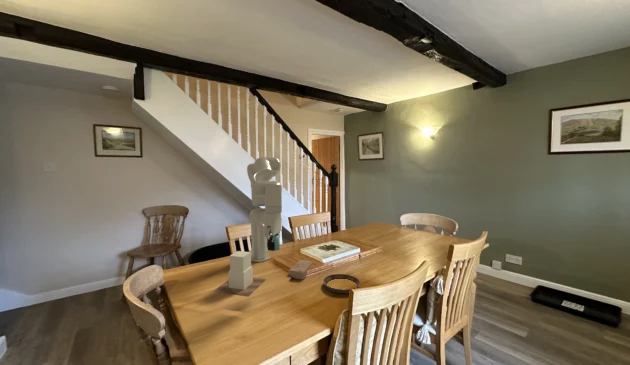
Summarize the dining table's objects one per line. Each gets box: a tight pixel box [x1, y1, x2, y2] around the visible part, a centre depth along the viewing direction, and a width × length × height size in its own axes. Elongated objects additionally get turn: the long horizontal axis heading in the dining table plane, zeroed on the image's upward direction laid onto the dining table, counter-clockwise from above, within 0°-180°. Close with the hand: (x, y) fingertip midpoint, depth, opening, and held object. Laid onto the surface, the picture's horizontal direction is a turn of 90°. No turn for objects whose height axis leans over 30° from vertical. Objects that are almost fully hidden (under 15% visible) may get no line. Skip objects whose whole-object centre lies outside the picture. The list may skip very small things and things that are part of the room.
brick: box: [288, 260, 313, 280], centre depth 140 cm, size 17×8×5 cm, turn 164°
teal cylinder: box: [269, 235, 281, 252], centre depth 119 cm, size 5×5×6 cm
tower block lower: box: [228, 265, 254, 290], centre depth 122 cm, size 8×8×8 cm
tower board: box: [213, 276, 267, 298], centre depth 123 cm, size 18×18×2 cm
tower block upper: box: [229, 250, 252, 272], centre depth 122 cm, size 7×7×7 cm
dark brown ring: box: [322, 273, 361, 294], centre depth 124 cm, size 18×18×3 cm
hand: (273, 247), depth 119 cm, fingers closed on teal cylinder, 5 cm apart
